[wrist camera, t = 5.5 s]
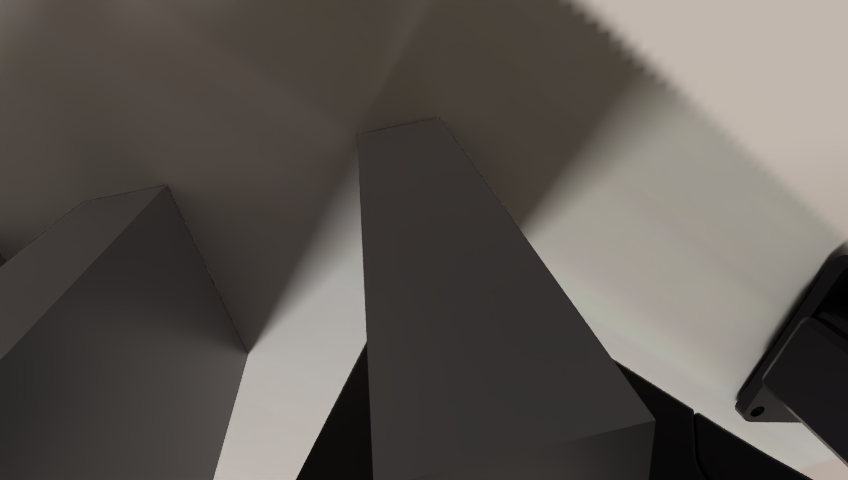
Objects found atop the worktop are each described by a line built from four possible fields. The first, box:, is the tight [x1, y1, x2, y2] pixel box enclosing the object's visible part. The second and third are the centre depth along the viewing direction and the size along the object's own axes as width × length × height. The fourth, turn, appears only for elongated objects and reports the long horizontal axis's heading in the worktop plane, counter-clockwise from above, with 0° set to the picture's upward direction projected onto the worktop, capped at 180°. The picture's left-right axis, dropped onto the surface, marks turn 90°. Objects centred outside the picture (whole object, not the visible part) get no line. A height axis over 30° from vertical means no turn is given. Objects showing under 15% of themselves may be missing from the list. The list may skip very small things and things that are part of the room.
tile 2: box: [0, 185, 248, 480], centre depth 8 cm, size 2×5×8 cm, turn 9°
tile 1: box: [357, 118, 656, 480], centre depth 8 cm, size 2×5×8 cm, turn 9°
